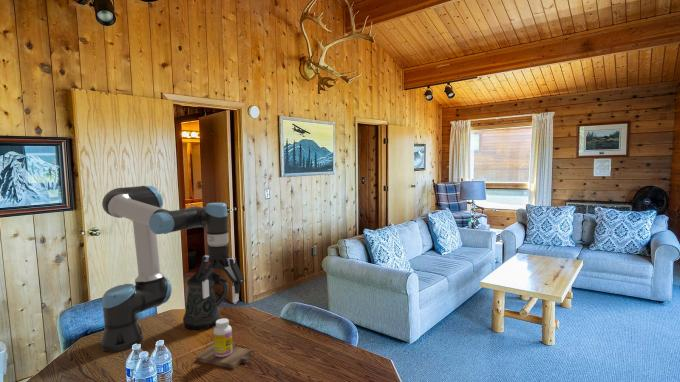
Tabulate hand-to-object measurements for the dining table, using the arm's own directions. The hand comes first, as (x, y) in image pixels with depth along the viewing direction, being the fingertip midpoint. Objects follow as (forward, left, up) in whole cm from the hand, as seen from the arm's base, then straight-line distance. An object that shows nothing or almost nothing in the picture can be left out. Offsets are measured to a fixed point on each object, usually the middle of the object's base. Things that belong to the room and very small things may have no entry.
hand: (220, 299), depth 139 cm
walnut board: (+2, 0, -23) cm, 23 cm away
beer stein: (-28, +23, -23) cm, 43 cm away
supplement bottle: (0, 0, -21) cm, 21 cm away
